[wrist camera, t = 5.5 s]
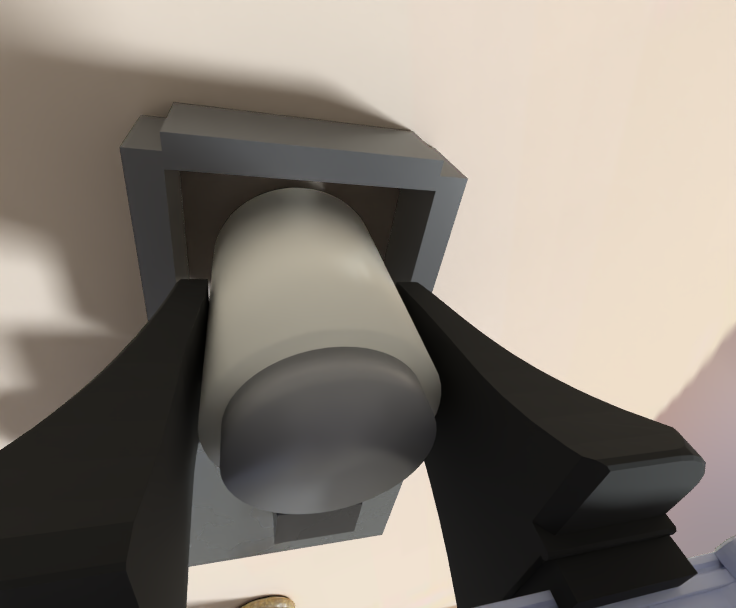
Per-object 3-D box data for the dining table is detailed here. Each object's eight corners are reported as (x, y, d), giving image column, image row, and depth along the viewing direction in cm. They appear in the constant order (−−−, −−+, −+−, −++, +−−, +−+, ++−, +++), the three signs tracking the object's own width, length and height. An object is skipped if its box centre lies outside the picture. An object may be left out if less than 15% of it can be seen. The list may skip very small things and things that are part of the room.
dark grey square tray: (173, 363, 16) (164, 417, 14) (138, 98, 11) (116, 126, 9) (381, 354, 18) (397, 400, 16) (437, 134, 13) (472, 163, 11)
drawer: (129, 483, 19) (102, 609, 16) (94, 354, 15) (44, 489, 11) (362, 457, 23) (388, 557, 19) (393, 345, 18) (435, 447, 14)
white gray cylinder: (214, 323, 14) (199, 538, 9) (211, 179, 11) (186, 367, 6) (357, 323, 15) (419, 508, 10) (386, 195, 12) (492, 358, 7)
